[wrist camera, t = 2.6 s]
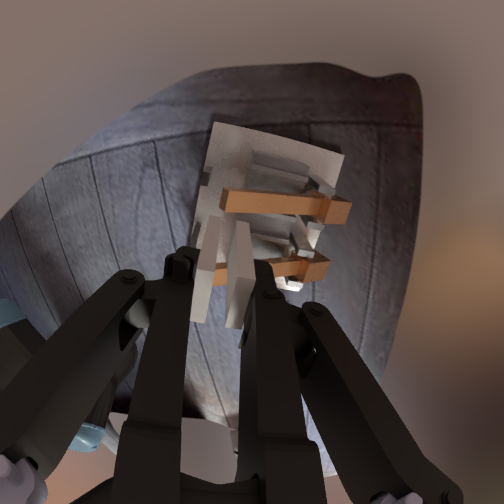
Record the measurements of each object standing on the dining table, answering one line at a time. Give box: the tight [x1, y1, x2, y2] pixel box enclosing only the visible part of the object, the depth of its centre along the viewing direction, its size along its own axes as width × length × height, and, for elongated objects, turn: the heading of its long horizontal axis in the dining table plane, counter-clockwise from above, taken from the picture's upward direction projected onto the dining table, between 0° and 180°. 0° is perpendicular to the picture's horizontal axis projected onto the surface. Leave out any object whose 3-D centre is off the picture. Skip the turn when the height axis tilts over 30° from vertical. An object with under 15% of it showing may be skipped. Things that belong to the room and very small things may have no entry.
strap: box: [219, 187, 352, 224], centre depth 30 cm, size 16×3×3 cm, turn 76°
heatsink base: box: [190, 121, 344, 291], centre depth 35 cm, size 17×21×7 cm
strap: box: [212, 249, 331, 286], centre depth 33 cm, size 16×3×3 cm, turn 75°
